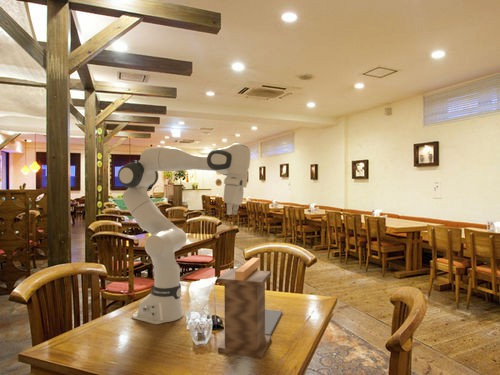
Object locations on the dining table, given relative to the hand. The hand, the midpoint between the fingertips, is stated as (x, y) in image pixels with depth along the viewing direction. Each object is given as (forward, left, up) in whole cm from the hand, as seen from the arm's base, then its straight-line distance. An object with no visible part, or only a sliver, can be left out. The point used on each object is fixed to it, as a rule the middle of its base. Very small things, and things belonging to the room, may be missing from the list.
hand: (231, 214), depth 138 cm
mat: (+11, +5, -46) cm, 48 cm away
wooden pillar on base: (+11, -16, -46) cm, 50 cm away
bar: (+11, -12, -20) cm, 26 cm away
